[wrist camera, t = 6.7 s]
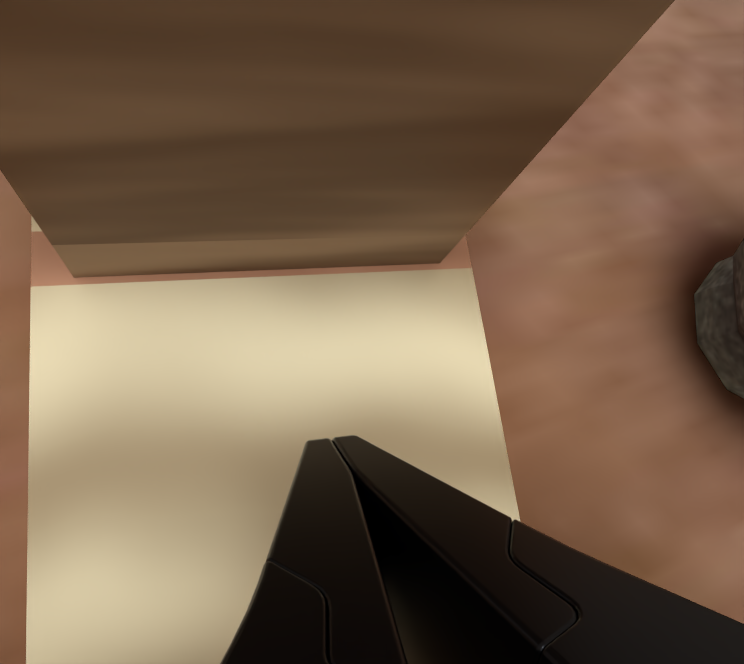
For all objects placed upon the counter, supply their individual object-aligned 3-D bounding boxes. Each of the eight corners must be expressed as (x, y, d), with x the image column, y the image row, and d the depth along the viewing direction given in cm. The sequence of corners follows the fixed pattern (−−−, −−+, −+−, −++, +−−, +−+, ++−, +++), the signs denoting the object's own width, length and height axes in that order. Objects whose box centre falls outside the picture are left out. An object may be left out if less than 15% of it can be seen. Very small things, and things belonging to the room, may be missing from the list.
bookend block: (439, 263, 17) (748, -82, 7) (74, 277, 15) (-278, -239, 4) (414, 118, 19) (645, -354, 8) (72, 108, 16) (-205, -601, 6)
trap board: (513, 656, 17) (549, 676, 15) (52, 766, 14) (24, 809, 12) (424, 154, 21) (443, 119, 19) (53, 148, 18) (33, 106, 16)
